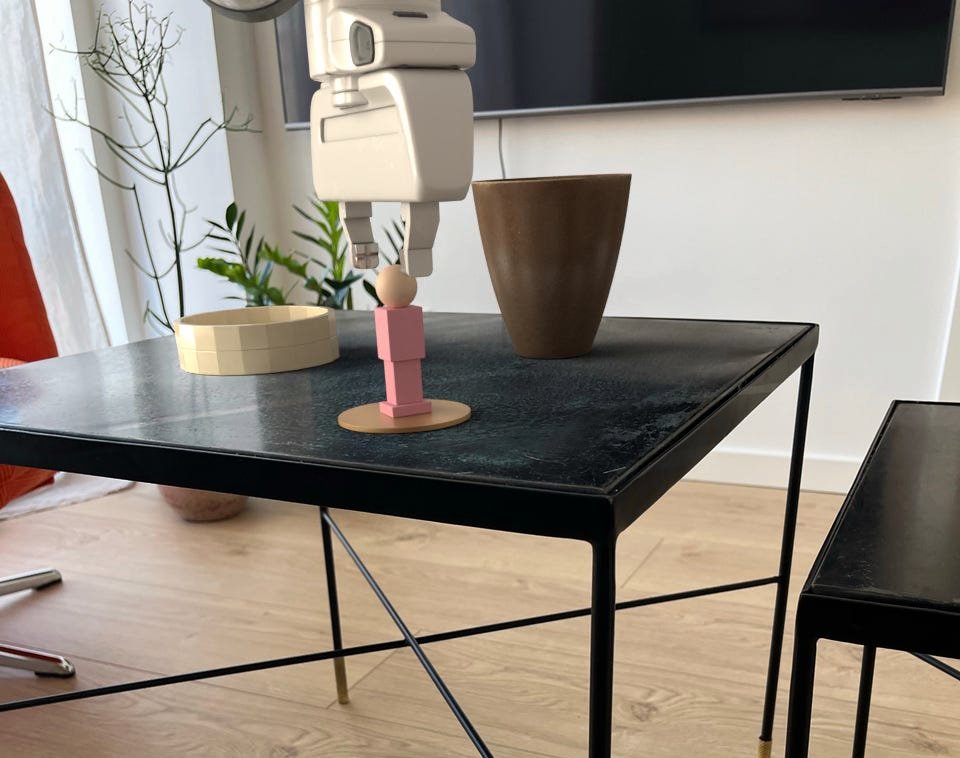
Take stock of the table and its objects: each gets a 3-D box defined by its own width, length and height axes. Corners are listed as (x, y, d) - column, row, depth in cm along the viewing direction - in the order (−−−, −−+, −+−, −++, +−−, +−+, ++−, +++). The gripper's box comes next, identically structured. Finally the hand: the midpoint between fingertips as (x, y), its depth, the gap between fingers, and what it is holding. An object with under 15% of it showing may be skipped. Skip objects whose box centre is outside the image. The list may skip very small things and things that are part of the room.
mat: (367, 440, 70) (367, 434, 70) (320, 415, 79) (319, 410, 78) (494, 420, 74) (494, 414, 74) (436, 398, 83) (436, 393, 82)
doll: (394, 418, 75) (382, 267, 70) (378, 412, 77) (366, 265, 73) (433, 412, 76) (424, 263, 71) (417, 406, 78) (406, 261, 74)
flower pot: (650, 359, 95) (654, 171, 89) (494, 371, 93) (487, 180, 86) (603, 337, 109) (604, 173, 102) (466, 347, 106) (458, 180, 100)
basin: (203, 388, 92) (194, 331, 89) (167, 366, 104) (159, 315, 102) (362, 368, 98) (357, 314, 96) (310, 349, 110) (305, 301, 108)
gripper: (281, 64, 74) (300, 267, 79) (390, 25, 57) (405, 285, 63) (362, 66, 76) (375, 261, 82) (489, 29, 59) (495, 278, 65)
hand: (389, 272), depth 72 cm, fingers open, 8 cm apart
